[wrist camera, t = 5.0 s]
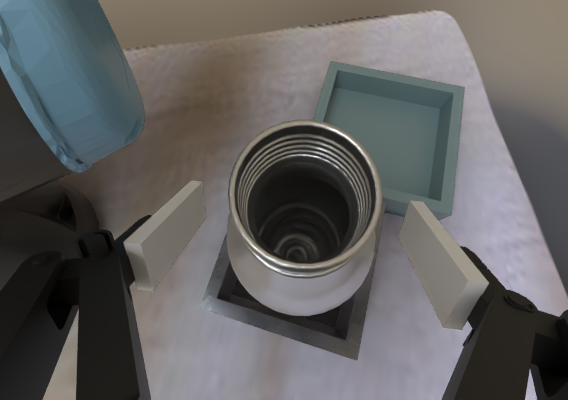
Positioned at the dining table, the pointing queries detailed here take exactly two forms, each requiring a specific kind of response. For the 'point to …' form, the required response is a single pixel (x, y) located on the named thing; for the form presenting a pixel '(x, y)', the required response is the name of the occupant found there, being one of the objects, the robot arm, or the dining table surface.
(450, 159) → the tray
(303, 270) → the metal bottle
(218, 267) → the holder sleeve
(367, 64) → the dining table surface
